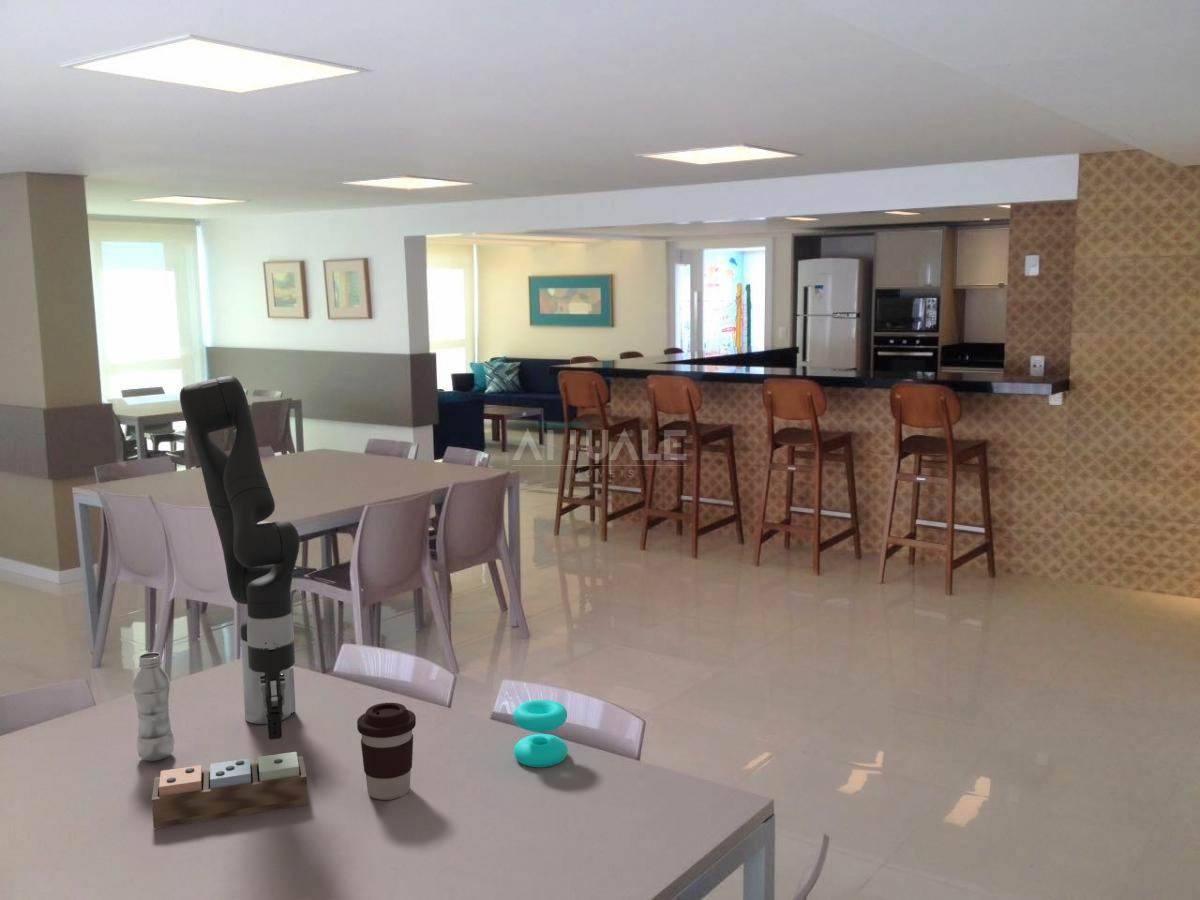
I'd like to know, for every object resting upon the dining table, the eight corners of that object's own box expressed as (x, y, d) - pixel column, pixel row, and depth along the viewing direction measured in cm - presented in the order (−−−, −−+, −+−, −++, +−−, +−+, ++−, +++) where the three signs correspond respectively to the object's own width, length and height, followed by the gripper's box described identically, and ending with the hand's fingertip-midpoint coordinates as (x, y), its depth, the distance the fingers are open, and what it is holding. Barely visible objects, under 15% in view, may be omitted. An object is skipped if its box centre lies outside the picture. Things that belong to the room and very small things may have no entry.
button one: (297, 767, 184) (296, 750, 183) (299, 783, 178) (298, 765, 177) (258, 773, 181) (258, 755, 181) (260, 789, 175) (259, 771, 175)
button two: (202, 781, 178) (201, 763, 178) (201, 798, 172) (200, 779, 172) (161, 787, 176) (160, 769, 176) (159, 804, 170) (158, 785, 170)
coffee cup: (428, 785, 184) (426, 703, 182) (395, 809, 175) (392, 724, 173) (382, 774, 189) (380, 695, 186) (347, 798, 180) (344, 714, 178)
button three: (250, 774, 181) (249, 757, 180) (251, 790, 175) (250, 772, 174) (211, 780, 179) (210, 762, 178) (210, 796, 173) (209, 778, 172)
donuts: (575, 701, 197) (553, 720, 187) (576, 752, 198) (554, 773, 189) (527, 694, 200) (504, 713, 191) (528, 744, 202) (504, 764, 192)
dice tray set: (303, 783, 185) (302, 756, 185) (307, 804, 177) (306, 776, 177) (156, 805, 177) (154, 777, 177) (153, 828, 169) (151, 799, 169)
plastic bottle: (181, 751, 199) (175, 650, 196) (163, 766, 192) (156, 662, 190) (149, 749, 200) (143, 649, 197) (130, 765, 193) (123, 661, 190)
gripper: (246, 630, 181) (251, 726, 183) (248, 653, 169) (252, 755, 171) (291, 626, 184) (295, 720, 186) (296, 648, 171) (300, 749, 173)
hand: (275, 737), depth 178 cm, fingers closed
